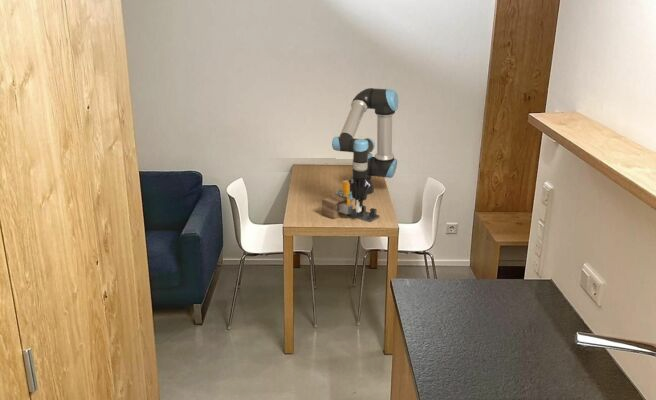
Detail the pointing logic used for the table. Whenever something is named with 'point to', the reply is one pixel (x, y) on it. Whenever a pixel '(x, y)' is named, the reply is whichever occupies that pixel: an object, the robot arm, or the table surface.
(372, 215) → the dark grey pegged plate
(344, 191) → the orange post with rings
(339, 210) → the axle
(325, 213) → the brown wooden stepped block
